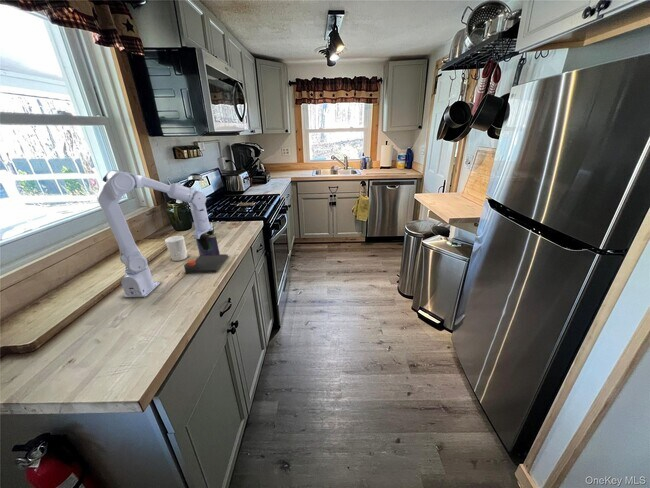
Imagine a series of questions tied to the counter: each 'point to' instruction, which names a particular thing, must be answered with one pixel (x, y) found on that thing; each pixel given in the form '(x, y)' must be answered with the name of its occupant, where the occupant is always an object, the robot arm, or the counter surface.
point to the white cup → (176, 247)
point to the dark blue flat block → (212, 249)
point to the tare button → (191, 262)
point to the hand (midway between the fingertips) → (207, 248)
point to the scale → (206, 264)
